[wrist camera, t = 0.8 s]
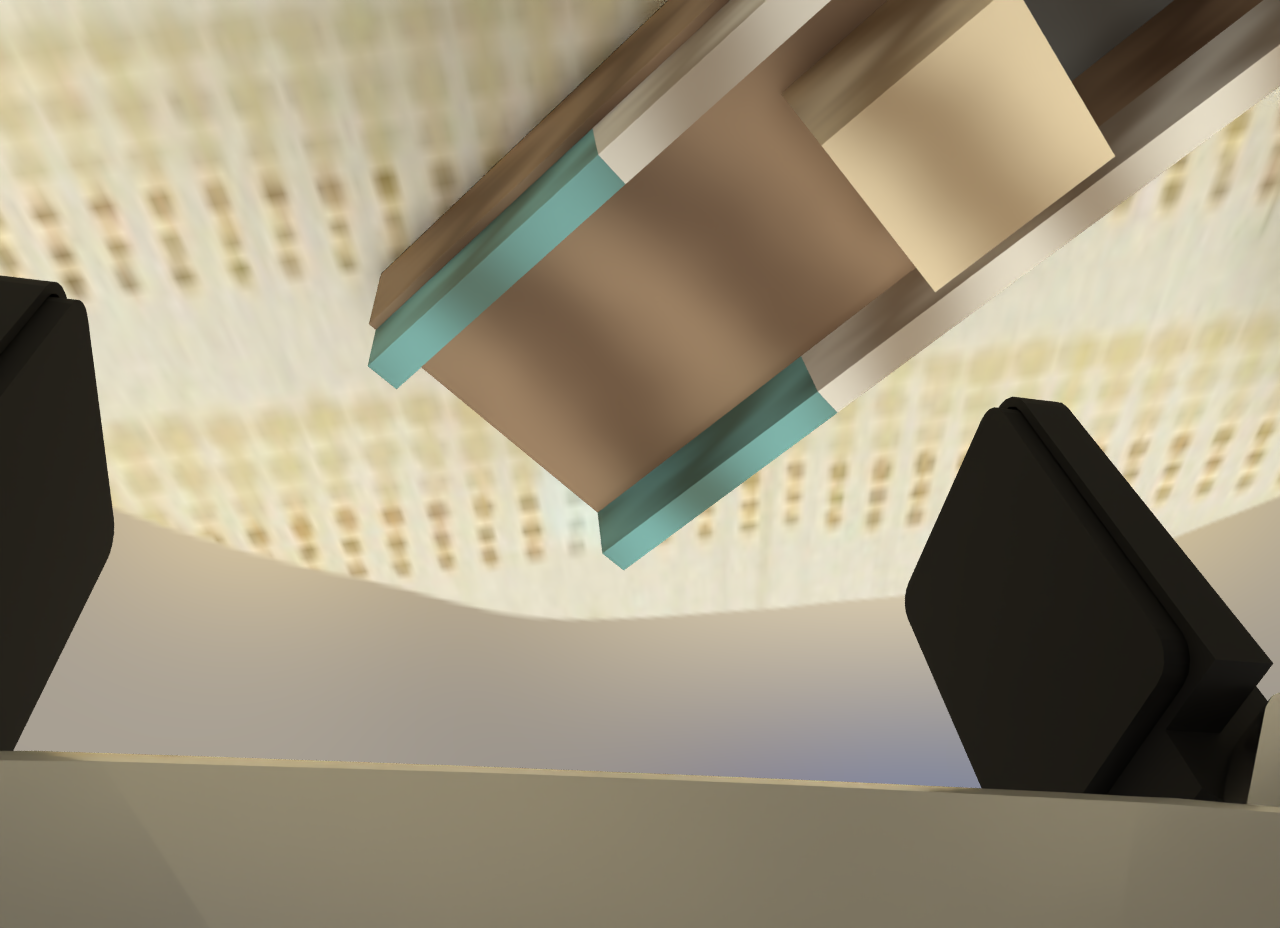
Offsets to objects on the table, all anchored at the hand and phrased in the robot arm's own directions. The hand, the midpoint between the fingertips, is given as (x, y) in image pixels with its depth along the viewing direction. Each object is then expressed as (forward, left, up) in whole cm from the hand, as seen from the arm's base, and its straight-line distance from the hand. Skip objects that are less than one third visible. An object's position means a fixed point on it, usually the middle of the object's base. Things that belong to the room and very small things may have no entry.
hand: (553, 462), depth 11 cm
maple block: (-7, +10, -23) cm, 26 cm away
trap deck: (-5, +10, -27) cm, 29 cm away
